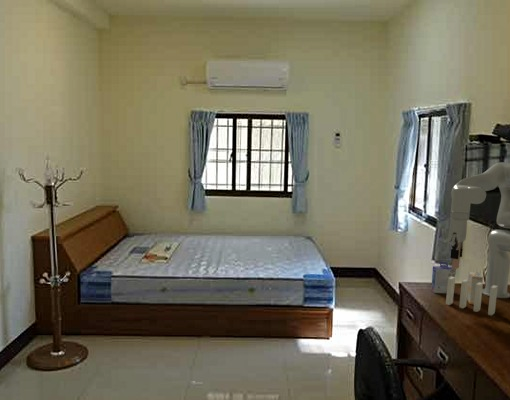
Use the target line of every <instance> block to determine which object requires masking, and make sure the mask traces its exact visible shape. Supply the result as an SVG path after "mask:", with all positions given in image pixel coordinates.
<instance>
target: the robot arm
mask: <svg viewBox="0 0 510 400" xmlns="http://www.w3.org/2000/svg"><path fill="white" fill-rule="evenodd" d="M496 188H499V192H500V195H501V197H500V203H499V207H498V210H497V211H498V212H497V215H496V224H497V225H498V226H499V227H502V228H505V229H493V230H492V231H490V232H489V233H488V237H487V243H488V258H487V267H486V268H487V269H486V276H485V278H486V280H485V288H482V294H483V295H484V296H487V297H490V289H491V287H492V286H493V285H495V286H498V287H497V297H496V299H507V298H508V299H509V298H510V292H508V284H509V276H510V275H509V273H510V255H509V253H510V230H506V229H510V162H502V161H501V162H497V163H495V164H493V165H492V166H490V167H488V169H486V171H484V172H483V173H479V174H476V175H472V176H469V177H465V178H463V179H461V180H459V181H458V182H457V183H456V184H455V185H453V187H452V189H451V192H450V197H451V204H450V205H451V207H450V215H449V216H450V218H449V219H450V223H449V228H448V229H449V230H448V238H447V240H448V242H449V243H450V247H451V248H450V259H452V260H453V259H458V257H459V250H458V248H459V243H461V248H460V258H462V257H463V251H464V241H466V239H467V231H468V229H467V228H468V221H469V220H470V214H471V204H474V205H479V204H482V203H484V202H485V200H486V197H487V192H489V191H492V190H495V189H496ZM455 241H457V242H458V243H457V242H455ZM456 244H457V245H456Z"/></svg>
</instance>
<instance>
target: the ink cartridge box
mask: <svg viewBox="0 0 510 400" xmlns="http://www.w3.org/2000/svg"><path fill="white" fill-rule="evenodd" d="M456 270H457V269H452V266H449V264H448V262H447V261H439V266H438V265H437V266H436V265H433V266H432V274H431V276H432V277H431V287H430V289H431V292H432V293H436V294H447V285H448V278H450V277H455V278H456V275H457V271H456ZM455 286H456V285H455V284H454V287H455Z"/></svg>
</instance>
